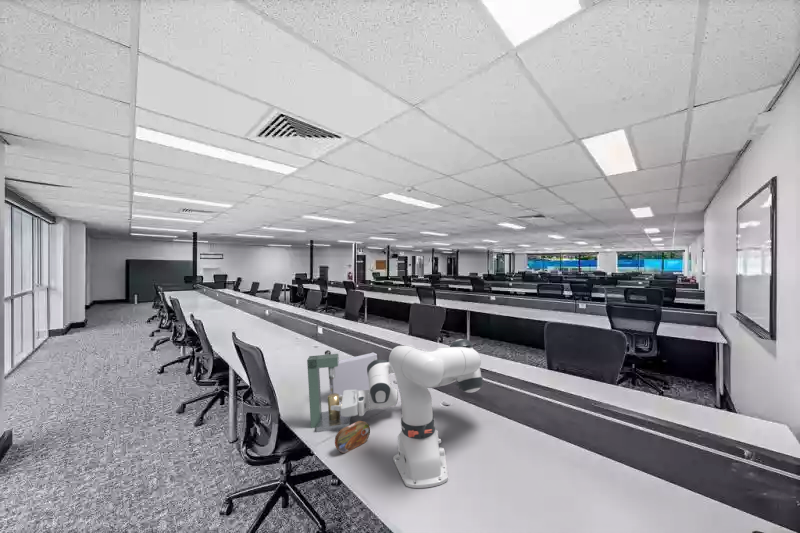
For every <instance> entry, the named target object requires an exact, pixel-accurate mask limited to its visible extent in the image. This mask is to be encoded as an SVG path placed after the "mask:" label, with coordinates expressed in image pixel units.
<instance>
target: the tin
mask: <svg viewBox="0 0 800 533" xmlns="http://www.w3.org/2000/svg"><path fill="white" fill-rule="evenodd" d="M370 435H371V427H370V424H369V423H368V422H366V421H362V420H357V421H355V422H353V423H350V425H349V426H347V427H345V428H343V429H339V431H338V432H337V434H336V435H335V438H334V445H335V448H336V450H338V451H339V452H340V453H342V454H347V453H349V452H352V451H353V450H354V449H356V448H358V447H361V446H362V445H364V444H365V443H366V442H367V441H368V440H369V437H370Z"/></svg>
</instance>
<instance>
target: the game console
mask: <svg viewBox="0 0 800 533" xmlns="http://www.w3.org/2000/svg"><path fill="white" fill-rule="evenodd" d="M374 360H378V354H377V353H375V352H371V353H365V354H360V355H358V356H357V355H356V356H353V357H349V358H344V359H339V364H338V366H337V367H335V375H336V378H335V379H329V378H328V380H329V381H328V382H329V383H328V385H329V395H330V394H333V393H337V394H339V396H340V395H343V391H345V390H358V391H359V390H369V383H368V373H367V367H368V365H369V364H370V363H371V362H372V361H374ZM368 394H369V392H368ZM339 403H341V402H340V401H339Z"/></svg>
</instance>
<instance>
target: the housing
mask: <svg viewBox="0 0 800 533" xmlns="http://www.w3.org/2000/svg"><path fill="white" fill-rule="evenodd" d="M331 405H338V406H339V405H340V402H339V394H337V393H333V394H330V393H329V394H328V395H327V408H328V412H329V420H337V419H339V418H340V411H336V410H331Z"/></svg>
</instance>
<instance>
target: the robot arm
mask: <svg viewBox="0 0 800 533" xmlns="http://www.w3.org/2000/svg"><path fill="white" fill-rule="evenodd" d="M481 365H482V359H481V356H480V353H479V352H478V351H477V350H475V349H474V345H473V343H472V342H471V340H469V339H464V338H460V339H456V340H454V341H452V342H451V344H450V345H449V347H437V348H436V349H434V350H432V351H429V350H428V351H426V350H422V349H419V348H417V347H413V346H410V345H397V346H395V347H393V349H392V350H391V351H390V353H389V355H388V360H386V359H377V360H374V361H372V362H371V363H370V364H369V365H368V367H367V373H368V383H369V390H359V391H358V390H345V391H343V395H340V396H339V401H341V402H340V403H341V404H339V406H338V405H331V410H336V411H341V416H343V417H349V416H351V417H355V416H356V417H357V416H358V417H363V416H364V415H365V414H366V413H367V411H371V410H382V409H389V408H393V407H394V406H396V405H397V404H398V401H399V400H398V398H400V404H401V406H400V407H401V420H400V428H401V430H400V433H398V435H397V453H396V454H395V455H394V456H393V457H392V458H393V459H392V460H393V463H394V465H395V467H396V469H397V470H398V473H399V474H400V477H401V478H402V481H403V483H404V485H405V486H406V487H409V488H411V489H412V488H414V489H424V488H431V487H436V486H440V485H443V484H445V483H447V482H448V481H449V475H448V474H449V472H448V466H447V457H446V451H445V448H444V447H441V446H439V444H441V443H442V440H441V438H439V431H438V430H437V428H436V423H435V418H434V414H433V412H434V411H433V399H432V398H433V396H432V394H431V392H430V390H429V389H434V388H439V387H444V386H447V385H450V384H452V383H455V382H457V383H455V384H454V386H455V387H457V388H458V389H459V390H460V391H461V392H463V393H469V394H470V393H475V392H477V391H479V390H480V389H482V388H483V386H484V381H483V380H484V379H483V377H482V372H481ZM390 374H394V376H395V377H394V378H395V380H396V384H397V387H398V389H397V388H396V387H394V386H393V385H392V383H391V381H390ZM368 392H369V393H368ZM398 393H399V394H398ZM399 395H400V397H399Z"/></svg>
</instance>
